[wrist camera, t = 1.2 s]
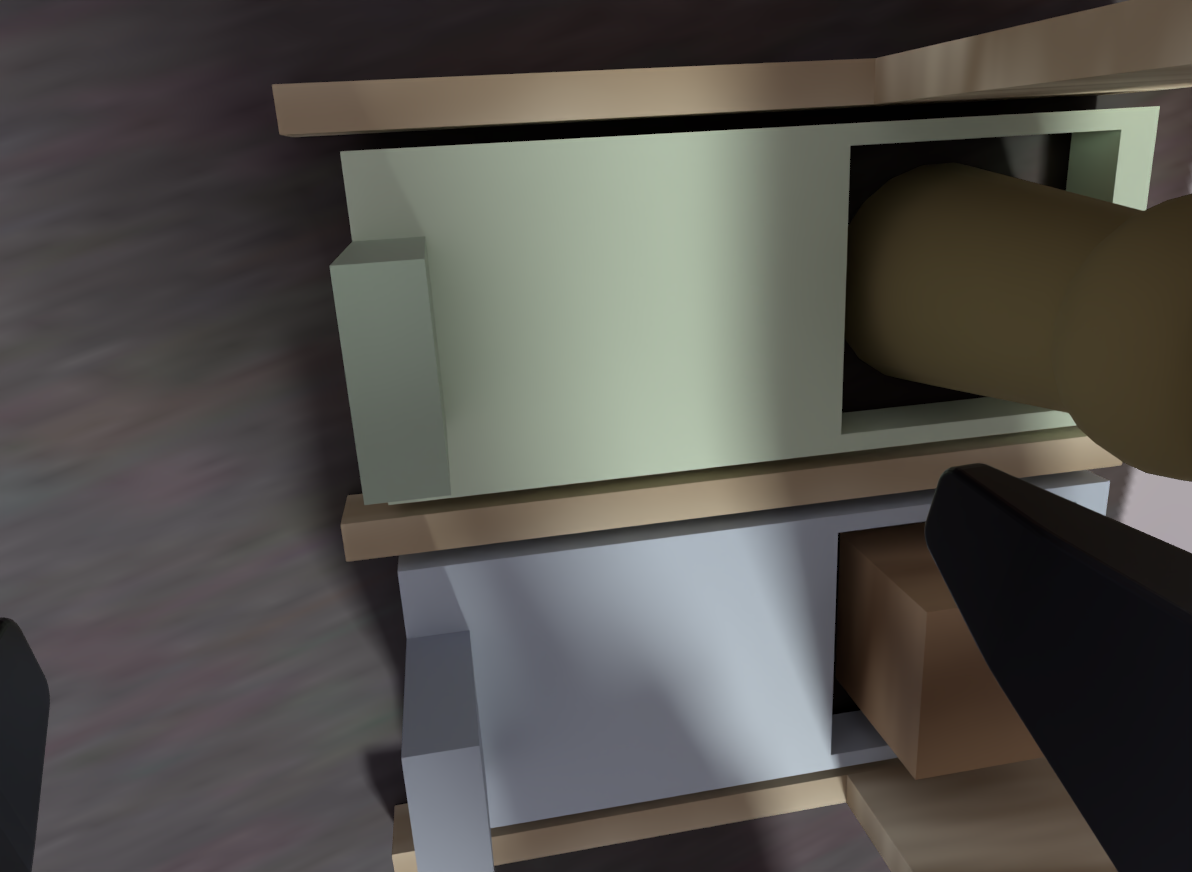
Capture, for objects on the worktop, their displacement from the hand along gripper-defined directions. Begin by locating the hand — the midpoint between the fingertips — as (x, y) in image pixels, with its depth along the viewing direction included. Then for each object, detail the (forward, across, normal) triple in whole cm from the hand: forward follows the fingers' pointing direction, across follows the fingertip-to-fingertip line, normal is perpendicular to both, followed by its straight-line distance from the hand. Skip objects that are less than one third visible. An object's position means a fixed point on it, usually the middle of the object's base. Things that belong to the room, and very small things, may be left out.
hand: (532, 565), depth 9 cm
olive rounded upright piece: (+13, -14, +4) cm, 20 cm away
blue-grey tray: (+10, -8, +14) cm, 19 cm away
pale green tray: (+14, -8, +4) cm, 17 cm away
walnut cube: (+10, -14, +14) cm, 22 cm away
